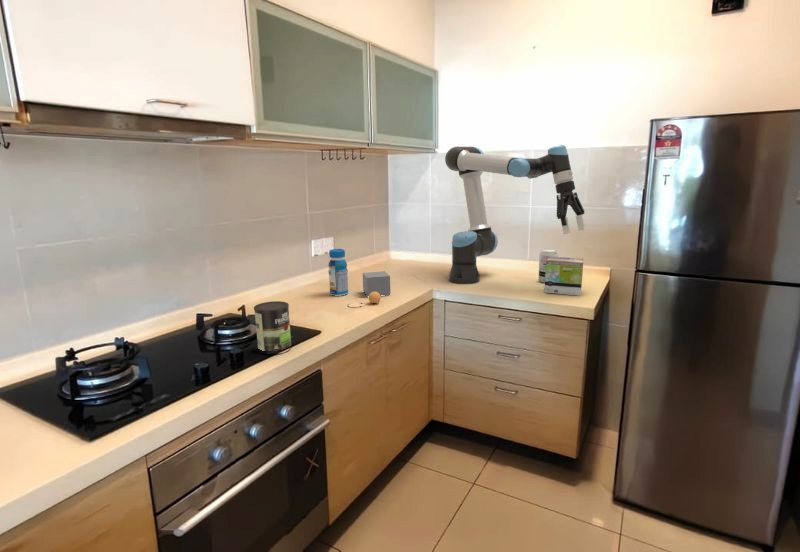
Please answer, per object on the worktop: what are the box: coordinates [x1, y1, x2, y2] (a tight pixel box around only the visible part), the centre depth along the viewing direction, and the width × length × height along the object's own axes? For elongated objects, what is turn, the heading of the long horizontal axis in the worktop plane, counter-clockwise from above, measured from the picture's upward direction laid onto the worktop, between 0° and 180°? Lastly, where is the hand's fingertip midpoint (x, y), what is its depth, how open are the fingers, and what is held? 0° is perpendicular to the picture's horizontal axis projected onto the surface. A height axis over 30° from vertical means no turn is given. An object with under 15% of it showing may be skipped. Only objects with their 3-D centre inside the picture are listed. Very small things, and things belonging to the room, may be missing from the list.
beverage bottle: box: [327, 248, 349, 297], centre depth 204 cm, size 8×8×20 cm
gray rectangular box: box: [362, 270, 391, 297], centre depth 205 cm, size 10×10×9 cm
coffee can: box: [253, 300, 292, 351], centre depth 142 cm, size 10×10×14 cm
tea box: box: [543, 256, 584, 297], centre depth 200 cm, size 15×10×15 cm, turn 68°
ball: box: [368, 292, 382, 304], centre depth 190 cm, size 5×5×5 cm
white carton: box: [537, 248, 559, 284], centre depth 219 cm, size 8×8×15 cm
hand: (574, 231), depth 195 cm, fingers open, 13 cm apart
